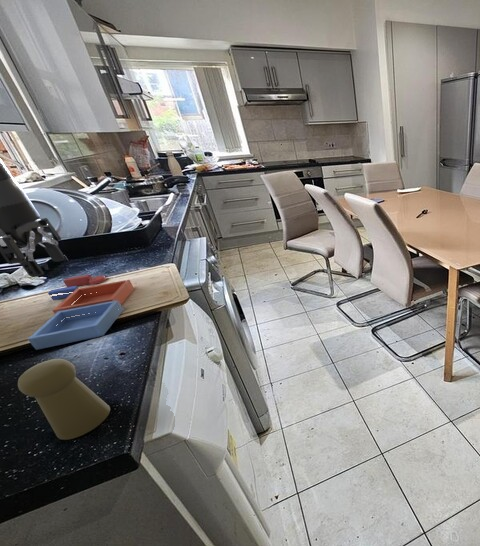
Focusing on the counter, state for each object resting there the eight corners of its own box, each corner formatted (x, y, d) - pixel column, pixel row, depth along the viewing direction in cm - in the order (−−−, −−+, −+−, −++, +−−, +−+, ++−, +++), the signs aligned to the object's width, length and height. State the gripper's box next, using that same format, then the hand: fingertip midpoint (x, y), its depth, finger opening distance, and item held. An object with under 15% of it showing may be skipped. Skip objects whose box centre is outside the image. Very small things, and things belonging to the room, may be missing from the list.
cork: (117, 399, 50) (79, 347, 45) (101, 431, 45) (56, 376, 40) (70, 412, 49) (25, 359, 43) (47, 447, 44) (-7, 392, 38)
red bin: (59, 321, 71) (52, 310, 69) (83, 298, 79) (76, 288, 78) (118, 309, 74) (112, 299, 72) (134, 289, 82) (129, 279, 81)
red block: (65, 290, 83) (60, 282, 82) (73, 284, 86) (68, 276, 85) (103, 283, 86) (98, 276, 84) (108, 278, 88) (104, 270, 87)
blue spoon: (51, 303, 78) (45, 294, 77) (59, 296, 81) (53, 288, 80) (90, 295, 80) (85, 287, 79) (97, 289, 83) (92, 281, 82)
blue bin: (36, 350, 62) (27, 339, 61) (65, 321, 70) (57, 311, 69) (104, 336, 65) (96, 325, 64) (124, 310, 73) (118, 300, 72)
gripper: (5, 196, 73) (48, 259, 81) (-49, 214, 61) (8, 285, 69) (45, 191, 75) (84, 253, 83) (1, 208, 63) (50, 278, 71)
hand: (49, 267), depth 76 cm, fingers open, 8 cm apart
